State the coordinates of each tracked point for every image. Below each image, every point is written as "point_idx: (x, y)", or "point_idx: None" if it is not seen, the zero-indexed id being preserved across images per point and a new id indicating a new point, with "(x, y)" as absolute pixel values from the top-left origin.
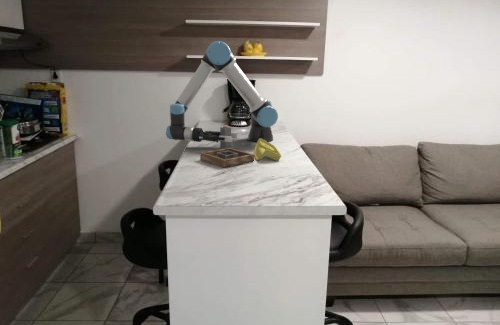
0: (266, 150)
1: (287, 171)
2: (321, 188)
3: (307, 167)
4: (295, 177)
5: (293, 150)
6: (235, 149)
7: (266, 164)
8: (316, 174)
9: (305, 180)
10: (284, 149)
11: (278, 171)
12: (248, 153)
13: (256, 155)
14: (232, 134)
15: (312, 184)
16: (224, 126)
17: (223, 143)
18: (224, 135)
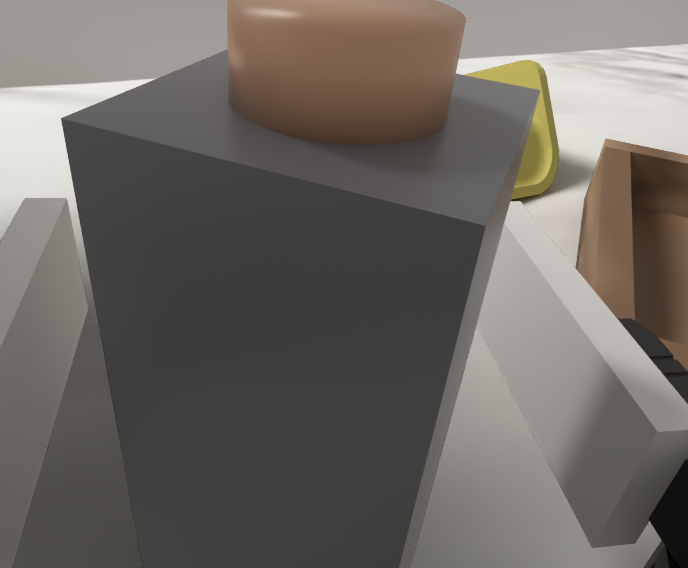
0: (538, 68)
1: (599, 97)
2: (676, 51)
3: (459, 65)
4: (649, 82)
5: (48, 99)
6: (601, 264)
7: (573, 151)
8: (537, 54)
9: (647, 68)
10: (17, 129)
11: (639, 113)
12: (623, 163)
13: None
14: (46, 296)
15: (666, 60)
16: (457, 45)
17: (413, 543)
18: (471, 339)
